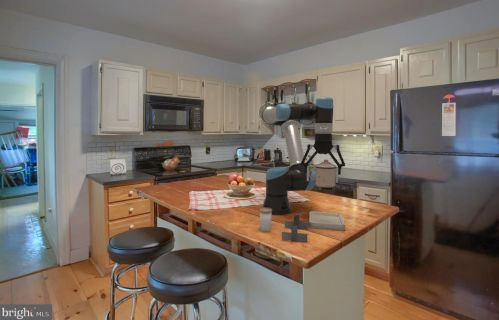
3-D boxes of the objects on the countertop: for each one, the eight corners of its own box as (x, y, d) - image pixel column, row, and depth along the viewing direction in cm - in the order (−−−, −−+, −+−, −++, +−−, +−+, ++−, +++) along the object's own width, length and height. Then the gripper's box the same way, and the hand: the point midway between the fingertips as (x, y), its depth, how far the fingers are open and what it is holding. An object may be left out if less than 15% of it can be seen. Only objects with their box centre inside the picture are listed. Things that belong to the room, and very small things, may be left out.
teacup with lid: (335, 184, 128) (336, 159, 127) (335, 188, 120) (336, 161, 119) (309, 182, 132) (310, 158, 131) (307, 186, 123) (308, 160, 122)
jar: (258, 231, 119) (258, 210, 119) (260, 226, 125) (260, 207, 124) (270, 232, 118) (271, 211, 117) (272, 227, 123) (272, 207, 123)
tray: (309, 228, 123) (309, 222, 123) (309, 216, 141) (309, 211, 140) (344, 230, 120) (344, 225, 120) (340, 218, 137) (340, 213, 137)
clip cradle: (281, 240, 109) (281, 225, 109) (285, 227, 124) (285, 214, 124) (307, 242, 107) (307, 227, 107) (307, 229, 122) (308, 215, 121)
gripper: (295, 133, 123) (294, 181, 125) (353, 133, 117) (351, 184, 119) (296, 132, 130) (295, 178, 133) (351, 133, 124) (349, 181, 126)
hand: (322, 181), depth 126 cm, fingers closed on teacup with lid, 12 cm apart
